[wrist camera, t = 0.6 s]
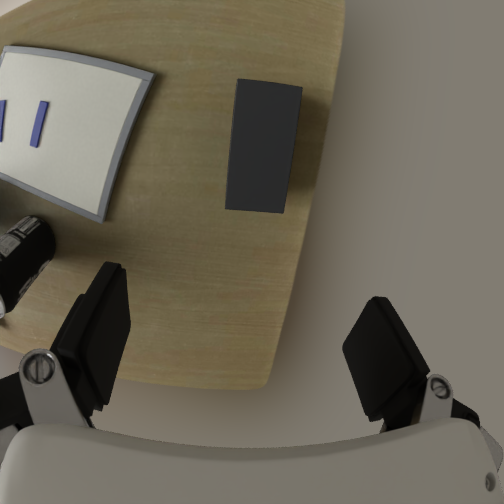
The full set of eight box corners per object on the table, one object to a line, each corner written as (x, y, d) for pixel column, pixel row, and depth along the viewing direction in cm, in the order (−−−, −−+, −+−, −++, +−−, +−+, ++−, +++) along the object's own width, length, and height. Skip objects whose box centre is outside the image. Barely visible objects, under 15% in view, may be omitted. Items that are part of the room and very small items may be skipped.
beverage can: (46, 267, 29) (1, 330, 18) (16, 234, 26) (-37, 288, 15) (66, 239, 27) (12, 304, 17) (32, 202, 24) (-31, 255, 14)
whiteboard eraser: (236, 84, 21) (237, 78, 16) (287, 90, 21) (302, 87, 17) (226, 188, 26) (225, 209, 21) (273, 191, 26) (283, 213, 22)
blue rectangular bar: (41, 100, 18) (40, 100, 18) (49, 102, 18) (47, 102, 18) (30, 144, 20) (29, 145, 20) (37, 147, 20) (36, 148, 20)
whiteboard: (8, 45, 13) (4, 45, 12) (156, 74, 19) (154, 73, 19) (-19, 165, 20) (-23, 167, 19) (104, 221, 26) (101, 224, 26)
